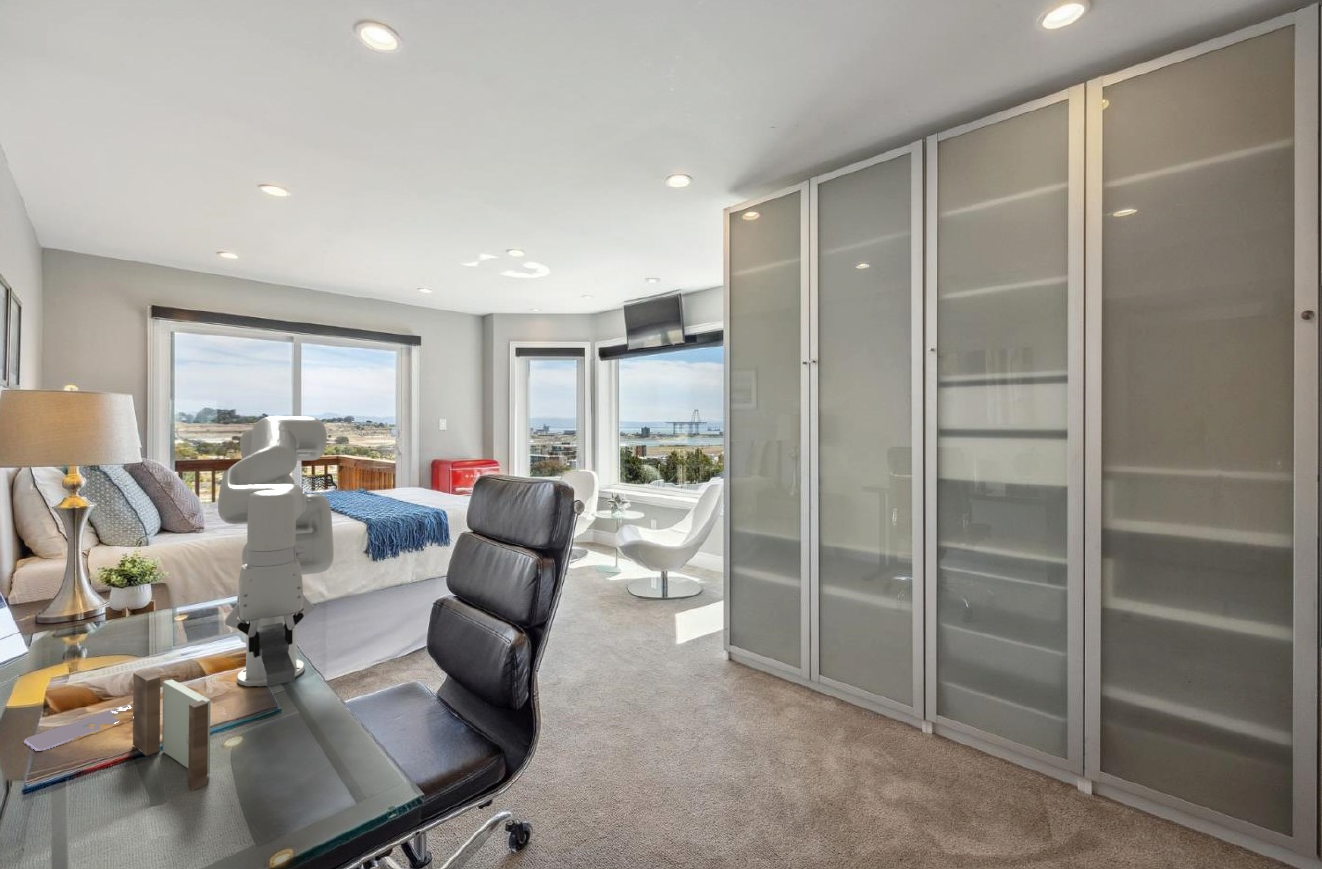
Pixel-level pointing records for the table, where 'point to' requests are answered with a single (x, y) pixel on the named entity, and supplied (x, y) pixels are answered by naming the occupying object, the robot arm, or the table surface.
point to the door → (179, 721)
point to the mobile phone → (72, 730)
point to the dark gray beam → (274, 655)
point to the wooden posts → (149, 726)
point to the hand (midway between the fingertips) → (270, 650)
